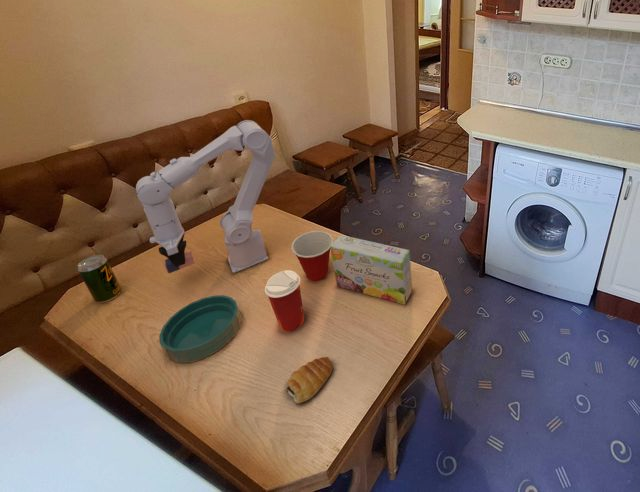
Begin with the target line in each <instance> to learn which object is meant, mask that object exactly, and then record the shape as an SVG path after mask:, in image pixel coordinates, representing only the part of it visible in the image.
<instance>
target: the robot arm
mask: <svg viewBox="0 0 640 492" xmlns="http://www.w3.org/2000/svg"><path fill="white" fill-rule="evenodd" d="M244 147H245V148H246V149H247V150H249V152H250V153H251V154H252V159H251V161H250V163H249V166H248V168H247V171H246V173H245V176H244V178H243V180H242V183H241V186H240V188H239V190H238V193H237V196H236V198H235V201H234V203H233V205H230V206H229V207H228V209H227V212H226V213H225V214H224V215H222V216H221V218H220V220H219V225H220V228H221V229H222V230H223V233H224V234H225V236H224V239H223V242H224V246H225V248H226V252H227V255H228V258H227V261H228V264H229V266H230V269H231V273H232V274H235V273H238V272H240V271H243V270H246V269H248V268H250V267H252V266H255V265H257V264H260V263H262V262H265V261H267V260H268V259H269V257H268V254H267V248H266V245H265V242H264V239H263V236H262V233H261V230H260V229H259V228H255V229H252V225H253V223H254V209H255V206H256V205H257V202H258V199H259V197H260V194H261V192H262V189H263V187H264V185H265V183H266V180H267V177H268V175H269V173H270V170H271V167H272V165H273V162H274V160H275V156H276V154H275V150H274V146H273V139H272V137H271V136H270V135H269V134H268V133H267V132H266V130H264V129H263V128H262V127H261V126H260V125H259V124H258V123H257V122H256V121H254V120H251V119H245V120H241V121H240V122H239V123H237V125H233V126H231V127H230V128H228V129H227V130H226V131H225V132H223V134H221V135H219V136H218V137H216V138H215V139H214V140H212V141H210V142H209V143H208V144H207V145H205V146H204V147H202V148H201V149H199V150H197V151H196V152H195V153H194V154H192V155H191V156H180V157H178V158H172V159H170V160H169V164H167V165H165V166H163V168H160V170H157V171H156V172H155V171H152V172H151V173H150V175H146V176H143V177H141V178H140V179H139V180H138V181H137V183H136V184H135V191H136V197H137V199H138V201H139V202H140V203H141V206H142V207H143V212H144V214H145V216H146V219H147V221H148V224H149V227H150V229H151V231H152V233H153V236H151V237H150V238H149V243H150V244H154V243H157V244H158V245H159V246H160V247H158V252H159V254H160V255H161V256H163V257H166V259H169V260H170V261H171V262H172V263H173V265H174V266H175V267H178V266H180V265H183V264H185V253H186V252H185V251H186V248H187V240H186V239H185V240H184V238H185V235H186V233H185V229H184V227H183V225H182V222H181V220H180V218H179V215H178V213H177V209H176V207H175V204H174V202H173V200H172V199H171V197H170V193H171V192H172V191H174V190H176V189H177V188H179V187H180V186H182V185H183V184H185V183H187V182H188V181H189V180H191V179H193V178H194V177H195V176H197V175H199V171H200V168H201V167H202V166H205V165H206V164H208V163H209V162H211V161H213V160H215V159H217V158H218V157H220V156H222V155H223V154H225V153H226V152H229V151H244Z"/></svg>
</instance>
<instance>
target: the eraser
mask: <svg viewBox="0 0 640 492" xmlns="http://www.w3.org/2000/svg"><path fill="white" fill-rule="evenodd" d="M195 264H196V261H195V256H194V253H193V251H192V250H190V251H187V252H185V264H183V265H180V266H178V267H175V266H174V265H173V263H172V262H171V261H170V260H169V259H168V258H166V259H164V268H165V270H166V273H167V274H171V273H174V272H177V271H179V270H182V269H184V268H187V267H190V266H193V265H195Z"/></svg>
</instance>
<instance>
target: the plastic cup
mask: <svg viewBox="0 0 640 492" xmlns="http://www.w3.org/2000/svg"><path fill="white" fill-rule="evenodd" d="M333 242H334V238H333V237H332V234H330V233H328V232H327V231H323V230H311V231H308V232H304V233H302V234H299V236H297V237H296V238H295V239H294V240H293V241H292V244H291V247H290V248H291V251H292V253H293V254H294V255H295V257H296V258H297V260H298V261H299V264H300V266H301V268H302V270H303V272H304V274H305V276H306V278H307V280H308V281H310V282H314V283H316V282H320V281H322V280H324V279H325V278H326V277H327V276H328V274H329V268H330V267H329V264H330V254H331V250H330V245H331V244H332V243H333Z"/></svg>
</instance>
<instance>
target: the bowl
mask: <svg viewBox="0 0 640 492" xmlns="http://www.w3.org/2000/svg"><path fill="white" fill-rule="evenodd" d="M241 323H242V316H241V312H240V308H239V306H238V303H237V300H235V299H234V298H233V297H231V296H228V295H224V294H220V295H219V294H218V295H210V296H206V297H203V298H200V299H197V300H195V301H193V302H191V303H189V304H187V305H185V306H184V307H182V308H180V309H178V311H177V312H175V313H174V314H173V315H172V316H171V317H169V319H168V320H167V321H166V322H165V324H163V326H162V329H161V330H160V332H159V336H158V338H159V345H160V346H161V350H162V351H163V353H164V355H165V356H166V357H167V359H168V360H169V361H172V362H175V363H178V364H181V363H183V364H184V363H191V362H195V361H199V360H202V359H204V358H207V357H209V356H211V355H212V354H214V353H216V352H218V351H219V350H220V349H222V348H223V347H224V346H226V345H227V344H228V343H229V342H230V341H231V340H232V339H233V338H234V337H235V336H236V334H237V332H238V331H239V329H240V327H241Z"/></svg>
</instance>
